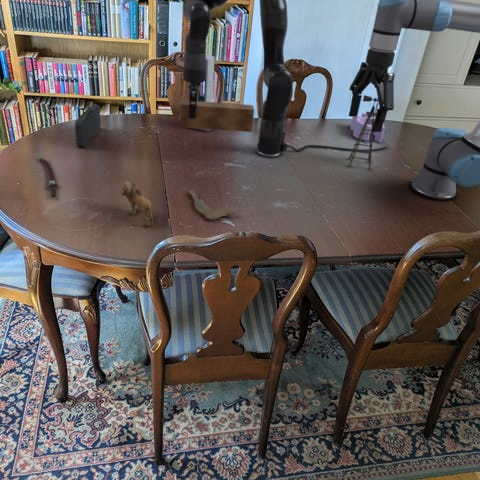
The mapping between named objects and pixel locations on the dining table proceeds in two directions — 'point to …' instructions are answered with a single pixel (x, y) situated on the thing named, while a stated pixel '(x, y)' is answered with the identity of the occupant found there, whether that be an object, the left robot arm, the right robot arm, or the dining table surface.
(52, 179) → the sword
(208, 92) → the electronic device
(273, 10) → the left robot arm
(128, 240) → the dining table surface
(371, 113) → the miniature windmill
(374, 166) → the dining table surface
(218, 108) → the bar
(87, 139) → the handheld gaming console
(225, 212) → the jawbone
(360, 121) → the purple notched block
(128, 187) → the lion figurine
